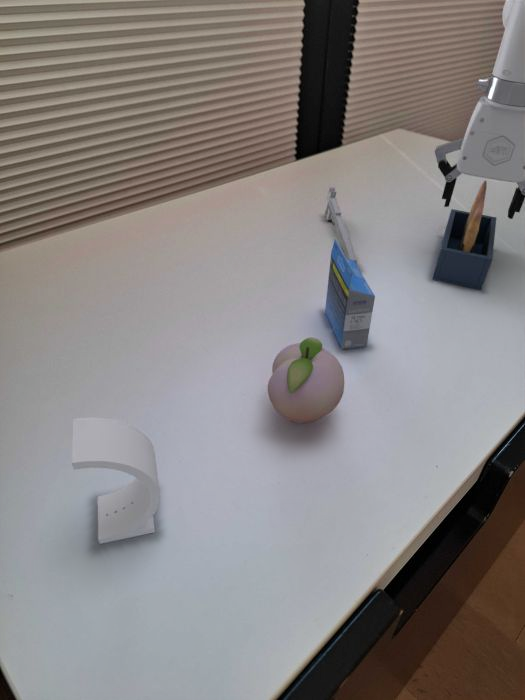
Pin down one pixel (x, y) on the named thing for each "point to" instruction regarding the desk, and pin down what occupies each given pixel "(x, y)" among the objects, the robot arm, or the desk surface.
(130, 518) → the headphone stand
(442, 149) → the robot arm
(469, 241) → the ammunition clip
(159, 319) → the desk surface
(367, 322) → the label tape box
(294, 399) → the decorative fruit
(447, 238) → the desk tidy
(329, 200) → the caliper
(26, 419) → the desk surface
